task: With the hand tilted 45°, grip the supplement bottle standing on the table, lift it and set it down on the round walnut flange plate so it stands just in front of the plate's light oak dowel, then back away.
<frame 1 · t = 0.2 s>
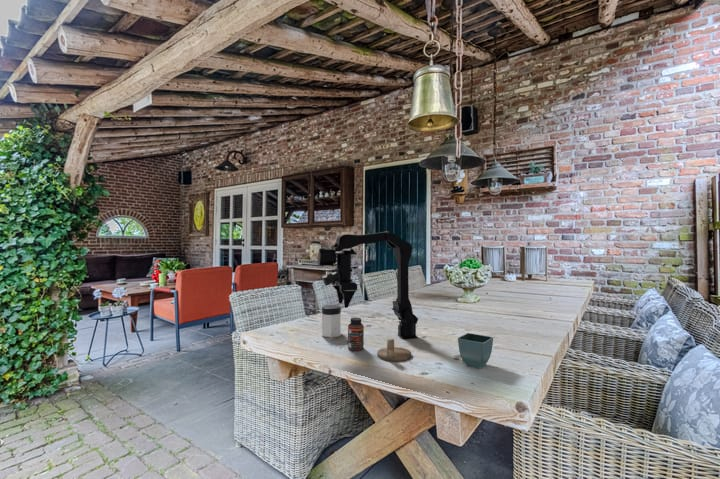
hand: (343, 305, 137), 15 cm above the table, tool pointing down, fingers open, 9 cm apart
flower pot: (475, 365, 112), on the table
supplement bottle: (355, 349, 129), on the table
jar: (331, 335, 148), on the table
flange plate: (394, 355, 122), on the table
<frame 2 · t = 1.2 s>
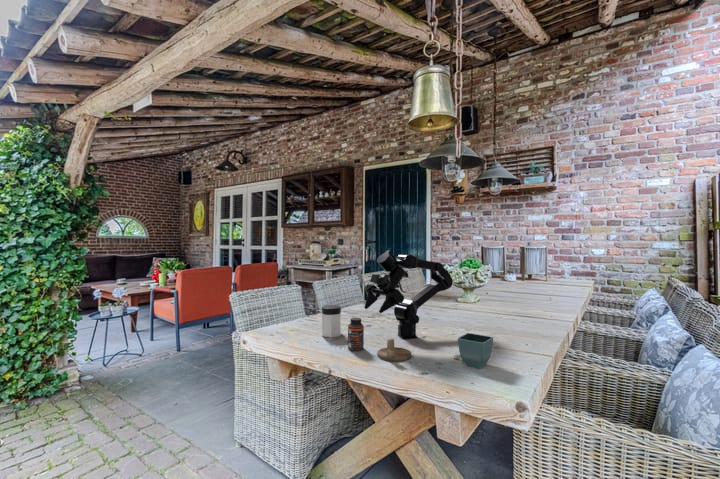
hand: (372, 310, 134), 13 cm above the table, tool tilted 45°, fingers open, 9 cm apart
nothing on the table moved.
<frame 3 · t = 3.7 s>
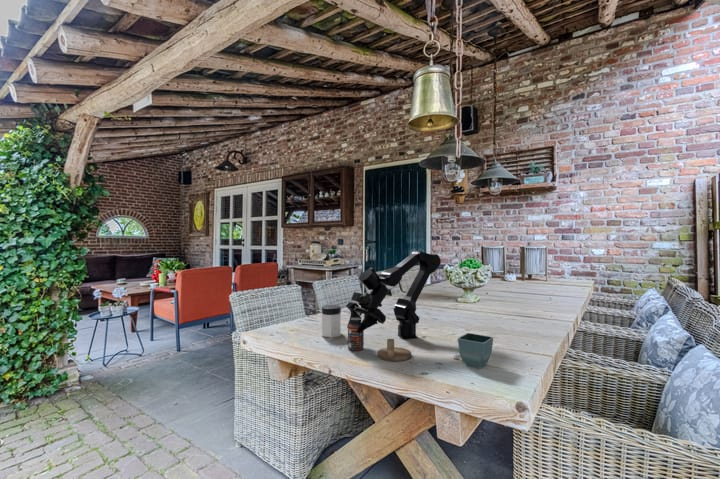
hand: (352, 330, 128), 7 cm above the table, tool tilted 45°, fingers closed on supplement bottle, 6 cm apart
supplement bottle: (355, 349, 129), on the table, touching gripper
everything else where it was.
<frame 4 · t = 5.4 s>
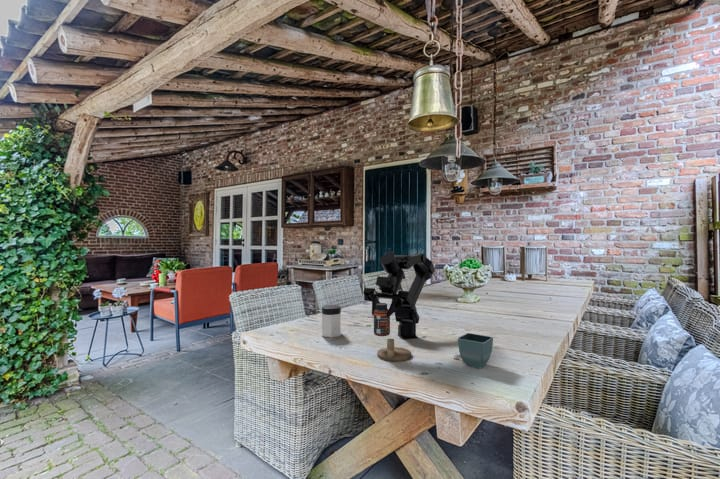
hand: (380, 315, 125), 13 cm above the table, tool tilted 45°, fingers closed on supplement bottle, 6 cm apart
supplement bottle: (382, 335, 126), point 6 cm above the table, touching gripper
everything else where it was.
when the fingers open (9 cm above the table, at t = 7.5 s): supplement bottle stays where it is, resting on flange plate.
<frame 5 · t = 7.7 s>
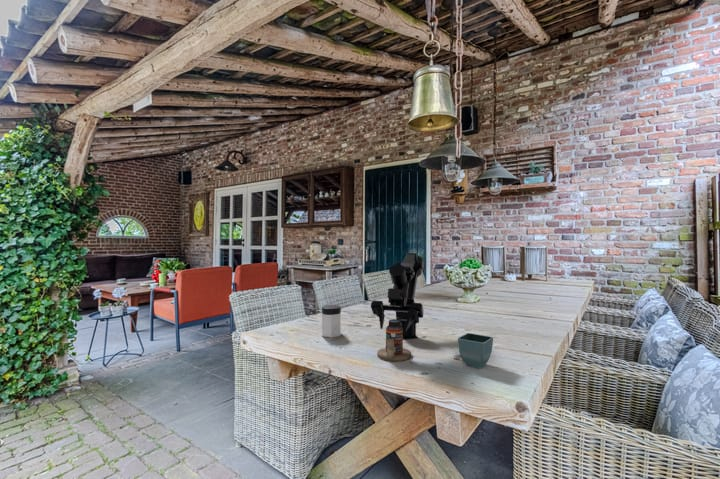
hand: (393, 329, 120), 10 cm above the table, tool tilted 45°, fingers open, 8 cm apart
supplement bottle: (394, 353, 122), point 1 cm above the table, touching flange plate
everything else where it was.
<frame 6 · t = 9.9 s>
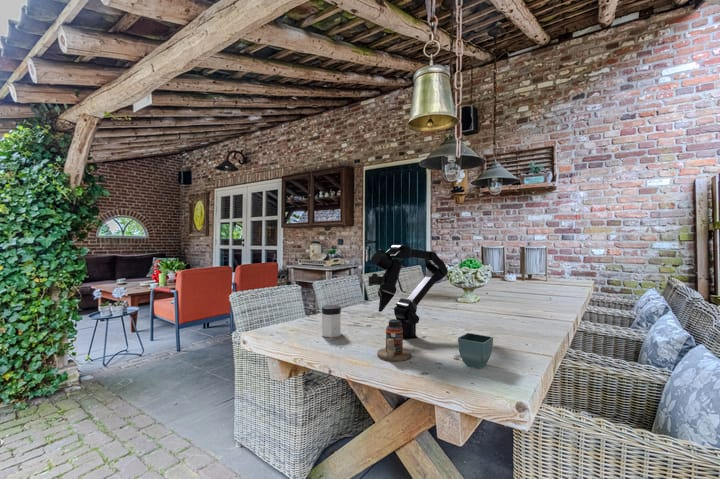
hand: (380, 311, 136), 13 cm above the table, tool tilted 25°, fingers open, 9 cm apart
nothing on the table moved.
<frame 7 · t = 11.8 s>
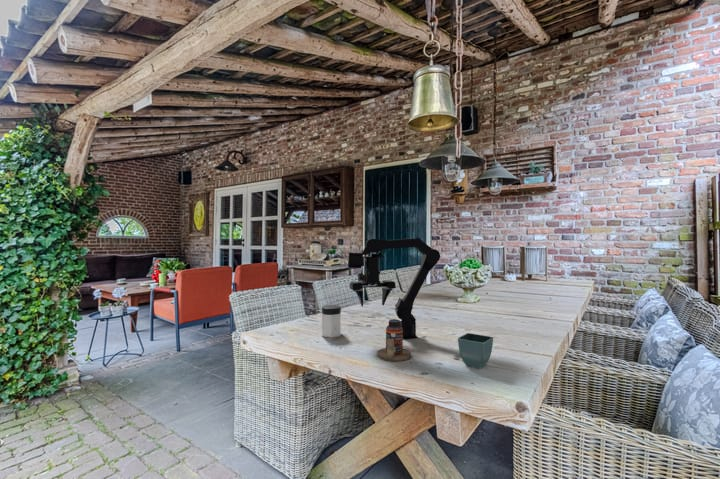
hand: (372, 305, 145), 13 cm above the table, tool pointing down, fingers open, 9 cm apart
nothing on the table moved.
at the end: supplement bottle 0.2 cm from the flange plate (horizontally); supplement bottle tilted 0°; the gripper is holding nothing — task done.
